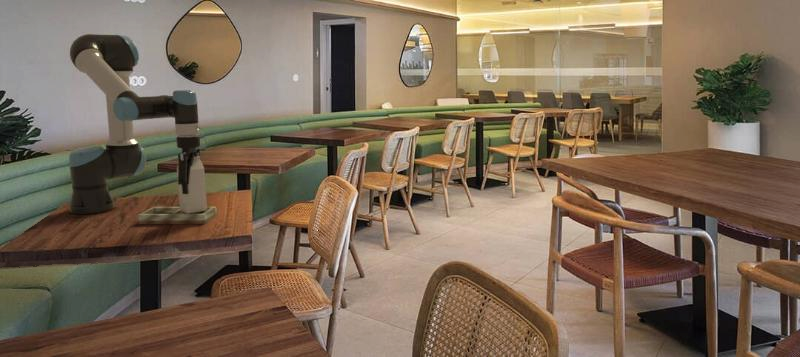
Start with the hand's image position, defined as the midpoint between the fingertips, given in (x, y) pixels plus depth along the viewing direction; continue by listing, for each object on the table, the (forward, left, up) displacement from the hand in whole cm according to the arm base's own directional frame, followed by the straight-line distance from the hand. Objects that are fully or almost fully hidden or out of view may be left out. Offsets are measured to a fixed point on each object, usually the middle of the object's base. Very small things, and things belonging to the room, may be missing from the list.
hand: (193, 199), depth 207 cm
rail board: (-4, -4, -7) cm, 9 cm away
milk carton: (0, 0, -4) cm, 4 cm away
